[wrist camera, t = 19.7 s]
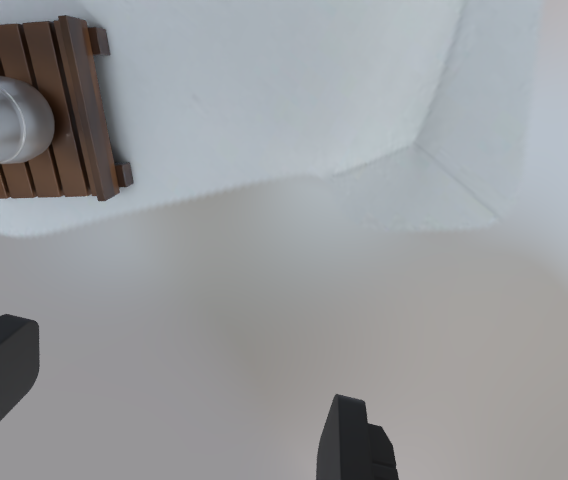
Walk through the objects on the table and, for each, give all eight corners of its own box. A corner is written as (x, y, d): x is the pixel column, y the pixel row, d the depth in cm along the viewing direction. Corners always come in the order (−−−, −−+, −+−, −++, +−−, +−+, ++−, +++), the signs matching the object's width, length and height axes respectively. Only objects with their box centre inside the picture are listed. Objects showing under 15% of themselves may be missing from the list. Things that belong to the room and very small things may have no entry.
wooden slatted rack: (-50, 33, 36) (-98, 27, 32) (104, 22, 34) (74, 14, 30) (-2, 192, 41) (-38, 204, 37) (134, 188, 39) (112, 201, 35)
